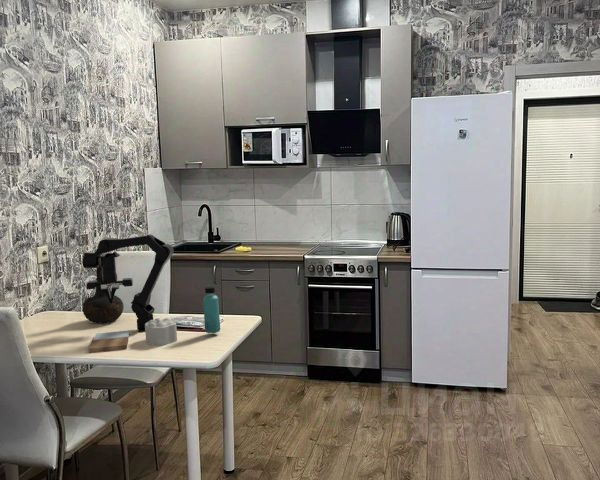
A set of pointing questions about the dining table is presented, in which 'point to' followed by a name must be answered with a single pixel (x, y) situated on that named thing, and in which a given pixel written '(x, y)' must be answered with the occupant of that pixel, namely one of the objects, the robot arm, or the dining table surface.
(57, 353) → the dining table surface
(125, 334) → the floor tile
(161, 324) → the lumpy-topped squat cylinder
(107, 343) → the walnut floor board
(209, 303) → the beverage bottle
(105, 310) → the brown flower vase
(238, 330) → the dining table surface
